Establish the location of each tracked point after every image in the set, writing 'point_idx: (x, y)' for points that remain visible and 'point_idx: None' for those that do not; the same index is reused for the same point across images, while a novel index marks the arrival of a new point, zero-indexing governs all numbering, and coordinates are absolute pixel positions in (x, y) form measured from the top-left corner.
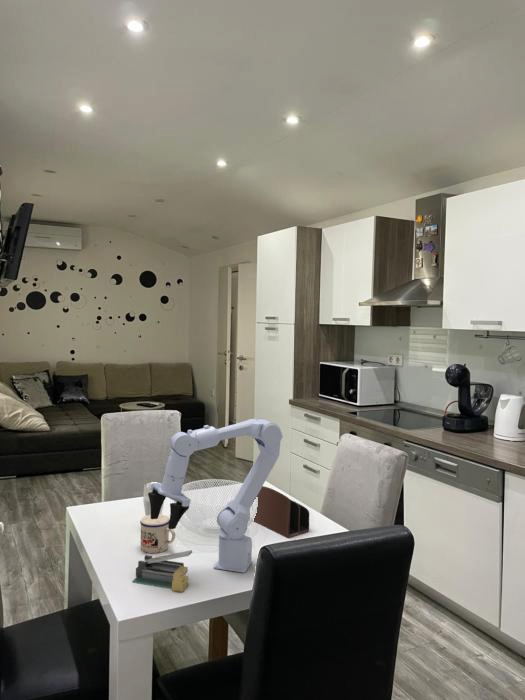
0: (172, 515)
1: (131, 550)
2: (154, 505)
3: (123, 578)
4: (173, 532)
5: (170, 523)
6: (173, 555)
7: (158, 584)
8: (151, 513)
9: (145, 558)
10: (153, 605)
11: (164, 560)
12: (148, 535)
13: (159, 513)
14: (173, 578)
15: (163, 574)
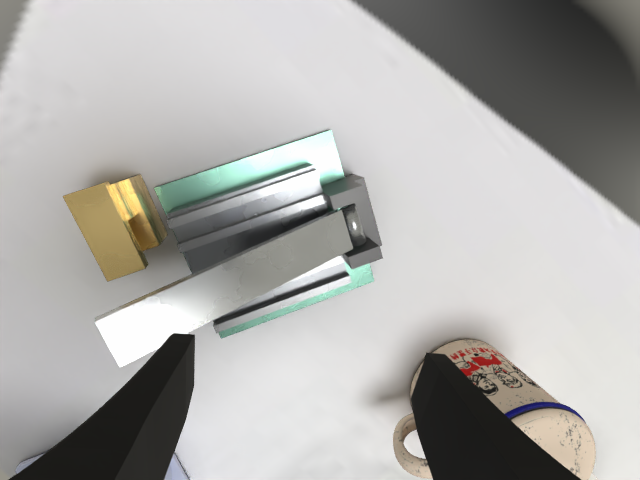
0: (81, 440)
1: (510, 317)
2: (491, 471)
3: (383, 134)
4: (406, 463)
5: (150, 364)
6: (208, 290)
7: (218, 172)
8: (461, 383)
9: (371, 244)
10: (96, 20)
11: (244, 250)
12: (488, 382)
13: (423, 448)
14: (117, 183)
15: (213, 203)
